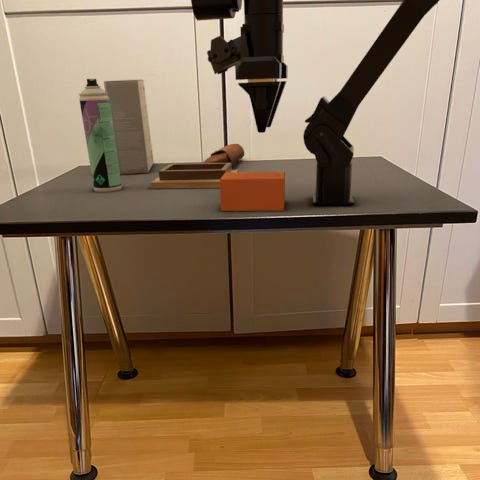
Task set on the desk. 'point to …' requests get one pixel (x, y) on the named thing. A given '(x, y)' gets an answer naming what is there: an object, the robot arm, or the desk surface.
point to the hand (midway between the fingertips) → (264, 129)
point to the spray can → (100, 137)
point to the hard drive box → (130, 125)
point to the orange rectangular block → (252, 191)
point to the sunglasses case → (226, 154)
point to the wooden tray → (192, 175)
